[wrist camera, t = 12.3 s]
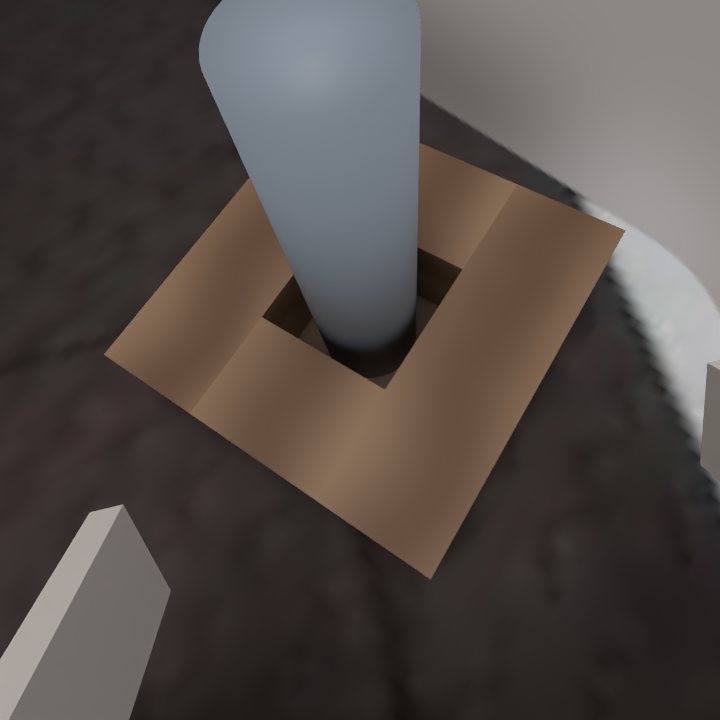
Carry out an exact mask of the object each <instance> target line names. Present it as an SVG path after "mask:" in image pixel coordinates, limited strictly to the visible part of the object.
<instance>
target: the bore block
mask: <svg viewBox="0 0 720 720" xmlns="http://www.w3.org/2000/svg"><path fill="white" fill-rule="evenodd" d="M624 232H625V230H623V229H621V228H618V227H616V226H614V225H611V224H609V223H607V222H604V221H602V220H599V219H597V218H595V217H592V216H590V215H588V214H585V213H583V212H581V211H578V210H576V209H574V208H571V207H569V206H567V205H564V204H562V203H560V202H557V201H555V200H553V199H550V198H548V197H545V196H543V195H541V194H538V193H536V192H534V191H531V190H529V189H527V188H524V187H522V186H520V185H517V184H515V183H513V182H510V181H508V180H506V179H503V178H501V177H499V176H496V175H494V174H491V173H489V172H487V171H484V170H482V169H480V168H477V167H475V166H473V165H470V164H468V163H466V162H463V161H461V160H459V159H456V158H454V157H452V156H449V155H447V154H445V153H442V152H440V151H437V150H435V149H433V148H430V147H428V146H426V145H423V144H421V143H419V179H418V237H417V296H416V339H415V344H414V345H413V347H412V349H411V350H410V352H409V353H408V355H407V356H406V358H405V359H404V361H403V362H402V364H401V366H400V367H399V368H398V369H397V370H395V371H393V372H392V373H390V374H387V375H385V376H381V377H376V378H364V377H362V376H361V375H359V374H357V373H356V372H354V371H352V370H351V369H349V368H347V367H346V366H344V365H342V364H340V363H339V362H337V361H335V360H334V359H332V358H331V356H330V354H329V352H328V350H327V347H326V345H325V343H324V341H323V338H322V336H321V334H320V332H319V330H318V327H317V325H316V323H315V321H314V319H313V316H312V314H311V312H310V310H309V307H308V305H307V303H306V301H305V299H304V296H303V294H302V292H301V290H300V288H299V285H298V283H297V281H296V279H295V276H294V274H293V272H292V270H291V268H290V265H289V263H288V261H287V259H286V257H285V254H284V252H283V250H282V248H281V245H280V243H279V241H278V239H277V237H276V234H275V232H274V230H273V228H272V226H271V223H270V221H269V219H268V217H267V214H266V212H265V210H264V208H263V206H262V203H261V201H260V199H259V197H258V194H257V192H256V190H255V188H254V186H253V183H252V181H251V179H250V178H249V179H248V180H247V181H246V183H245V184H244V185H243V186H242V187H241V189H240V190H239V191H238V192H237V194H236V195H235V196H234V197H233V198H232V200H231V201H230V202H229V203H228V204H227V206H226V207H225V208H224V209H223V211H222V212H221V213H220V214H219V215H218V217H217V218H216V219H215V220H214V222H213V223H212V224H211V225H210V226H209V228H208V229H207V230H206V231H205V232H204V234H203V235H202V236H201V237H200V239H199V240H198V241H197V242H196V243H195V245H194V246H193V247H192V248H191V249H190V251H189V252H188V253H187V254H186V256H185V257H184V258H183V259H182V260H181V262H180V263H179V264H178V265H177V266H176V268H175V269H174V270H173V271H172V273H171V274H170V275H169V276H168V277H167V279H166V280H165V281H164V282H163V284H162V285H161V286H160V287H159V288H158V290H157V291H156V292H155V293H154V294H153V296H152V297H151V298H150V299H149V301H148V302H147V303H146V304H145V305H144V307H143V308H142V309H141V310H140V311H139V313H138V314H137V315H136V316H135V318H134V319H133V320H132V321H131V322H130V324H129V325H128V326H127V327H126V328H125V330H124V331H123V332H122V333H121V335H120V336H119V337H118V338H117V339H116V341H115V342H114V343H113V344H112V345H111V347H110V348H109V349H108V350H107V352H106V353H105V354H104V355H106V356H107V357H108V358H110V359H111V360H113V361H114V362H116V363H117V364H119V365H120V366H122V367H123V368H124V369H126V370H127V371H129V372H130V373H132V374H133V375H135V376H136V377H137V378H139V379H140V380H142V381H143V382H145V383H146V384H148V385H149V386H151V387H152V388H153V389H155V390H156V391H158V392H159V393H161V394H162V395H164V396H165V397H167V398H168V399H169V400H171V401H172V402H174V403H175V404H177V405H178V406H180V407H181V408H182V409H184V410H185V411H187V412H188V413H190V414H191V415H193V416H194V417H196V418H197V419H198V420H200V421H201V422H203V423H204V424H206V425H207V426H209V427H210V428H212V429H213V430H214V431H216V432H217V433H219V434H220V435H222V436H223V437H225V438H226V439H227V440H229V441H230V442H232V443H233V444H235V445H236V446H238V447H239V448H241V449H242V450H243V451H245V452H246V453H248V454H249V455H251V456H252V457H254V458H255V459H256V460H258V461H259V462H261V463H262V464H264V465H265V466H267V467H268V468H270V469H271V470H272V471H274V472H275V473H277V474H278V475H280V476H281V477H283V478H284V479H286V480H287V481H288V482H290V483H291V484H293V485H294V486H296V487H297V488H299V489H300V490H301V491H303V492H304V493H306V494H307V495H309V496H310V497H312V498H313V499H315V500H316V501H317V502H319V503H320V504H322V505H323V506H325V507H326V508H328V509H329V510H331V511H332V512H333V513H335V514H336V515H338V516H339V517H341V518H342V519H344V520H345V521H346V522H348V523H349V524H351V525H352V526H354V527H355V528H357V529H358V530H360V531H361V532H362V533H364V534H365V535H367V536H368V537H370V538H371V539H373V540H374V541H375V542H377V543H378V544H380V545H381V546H383V547H384V548H386V549H387V550H389V551H390V552H391V553H393V554H394V555H396V556H397V557H399V558H400V559H402V560H403V561H405V562H406V563H407V564H409V565H410V566H412V567H413V568H415V569H416V570H418V571H419V572H420V573H422V574H423V575H425V576H426V577H428V578H429V579H431V578H432V576H433V574H434V572H435V570H436V569H437V567H438V565H439V563H440V562H441V560H442V558H443V556H444V554H445V553H446V551H447V549H448V547H449V545H450V544H451V542H452V540H453V538H454V536H455V535H456V533H457V531H458V529H459V528H460V526H461V524H462V522H463V520H464V519H465V517H466V515H467V513H468V511H469V510H470V508H471V506H472V504H473V502H474V501H475V499H476V497H477V495H478V493H479V492H480V490H481V488H482V486H483V485H484V483H485V481H486V479H487V477H488V476H489V474H490V472H491V470H492V468H493V467H494V465H495V463H496V461H497V459H498V458H499V456H500V454H501V452H502V451H503V449H504V447H505V445H506V443H507V442H508V440H509V438H510V436H511V434H512V433H513V431H514V429H515V427H516V425H517V424H518V422H519V420H520V418H521V416H522V415H523V413H524V411H525V409H526V408H527V406H528V404H529V402H530V400H531V399H532V397H533V395H534V393H535V391H536V390H537V388H538V386H539V384H540V382H541V381H542V379H543V377H544V375H545V374H546V372H547V370H548V368H549V366H550V365H551V363H552V361H553V359H554V357H555V356H556V354H557V352H558V350H559V348H560V347H561V345H562V343H563V341H564V339H565V338H566V336H567V334H568V332H569V331H570V329H571V327H572V325H573V323H574V322H575V320H576V318H577V316H578V314H579V313H580V311H581V309H582V307H583V305H584V304H585V302H586V300H587V298H588V297H589V295H590V293H591V291H592V289H593V288H594V286H595V284H596V282H597V280H598V279H599V277H600V275H601V273H602V271H603V270H604V268H605V266H606V264H607V262H608V261H609V259H610V257H611V255H612V254H613V252H614V250H615V248H616V246H617V245H618V243H619V241H620V239H621V237H622V236H623V234H624Z"/></svg>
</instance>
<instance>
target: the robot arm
mask: <svg viewBox="0 0 720 720" xmlns="http://www.w3.org/2000/svg"><path fill="white" fill-rule="evenodd" d="M700 465H701V466H702V467H704V468H705V469H706V470H707V471H708V472H709V473H711V474H712V475H713V476H714V477H715V478H717V479H718V480H719V481H720V360H718V361H714V362H710V363H708V364H707V378H706V392H705V405H704V419H703V433H702V447H701V460H700ZM170 592H171V590H170V588H169V587H168V585H167V583H166V581H165V579H164V578H163V576H162V574H161V572H160V570H159V568H158V567H157V565H156V563H155V561H154V559H153V558H152V556H151V554H150V552H149V550H148V549H147V547H146V545H145V543H144V541H143V540H142V538H141V536H140V534H139V532H138V531H137V529H136V527H135V525H134V523H133V522H132V520H131V518H130V516H129V514H128V512H127V511H126V509H125V507H124V505H119V506H115V507H111V508H106V509H102V510H98V511H94V512H90V513H89V515H88V516H87V518H86V520H85V521H84V523H83V525H82V526H81V528H80V529H79V531H78V533H77V534H76V536H75V538H74V539H73V541H72V543H71V544H70V546H69V547H68V549H67V551H66V552H65V554H64V556H63V557H62V559H61V561H60V562H59V564H58V566H57V567H56V569H55V570H54V572H53V574H52V575H51V577H50V579H49V580H48V582H47V584H46V585H45V587H44V589H43V590H42V592H41V593H40V595H39V597H38V598H37V600H36V602H35V603H34V605H33V607H32V608H31V610H30V611H29V613H28V615H27V616H26V618H25V620H24V621H23V623H22V625H21V626H20V628H19V630H18V631H17V633H16V634H15V636H14V638H13V639H12V641H11V643H10V644H9V646H8V648H7V649H6V651H5V653H4V654H3V656H2V657H1V659H0V720H129V718H130V715H131V712H132V709H133V706H134V703H135V700H136V697H137V694H138V690H139V687H140V684H141V681H142V678H143V675H144V672H145V669H146V666H147V663H148V660H149V656H150V653H151V650H152V647H153V644H154V641H155V638H156V635H157V632H158V629H159V626H160V622H161V619H162V616H163V613H164V610H165V607H166V604H167V601H168V598H169V595H170Z"/></svg>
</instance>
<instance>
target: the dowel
mask: <svg viewBox="0 0 720 720" xmlns="http://www.w3.org/2000/svg"><path fill="white" fill-rule="evenodd" d="M420 56H421V20H420V13H419V10H418V6H417V4H416V2H415V0H222V1H221V3H220V4H219V5H218V6H217V7H216V8H215V10H214V11H213V13H212V14H211V16H210V17H209V19H208V21H207V23H206V25H205V27H204V29H203V32H202V36H201V39H200V46H199V61H200V65H201V70H202V72H203V75H204V77H205V79H206V82H207V84H208V86H209V88H210V90H211V93H212V95H213V97H214V99H215V101H216V104H217V106H218V108H219V110H220V113H221V115H222V117H223V119H224V121H225V124H226V126H227V128H228V130H229V132H230V135H231V137H232V139H233V141H234V144H235V146H236V148H237V150H238V152H239V155H240V157H241V159H242V161H243V163H244V166H245V168H246V170H247V172H248V175H249V177H250V179H251V181H252V183H253V186H254V188H255V190H256V192H257V194H258V197H259V199H260V201H261V203H262V206H263V208H264V210H265V212H266V214H267V217H268V219H269V221H270V223H271V226H272V228H273V230H274V232H275V234H276V237H277V239H278V241H279V243H280V245H281V248H282V250H283V252H284V254H285V257H286V259H287V261H288V263H289V265H290V268H291V270H292V272H293V274H294V276H295V279H296V281H297V283H298V285H299V288H300V290H301V292H302V294H303V296H304V299H305V301H306V303H307V305H308V307H309V310H310V312H311V314H312V316H313V319H314V321H315V323H316V325H317V327H318V330H319V332H320V334H321V336H322V338H323V341H324V343H325V345H326V347H327V350H328V352H329V354H330V356H331V358H332V359H334V360H335V361H337V362H339V363H340V364H342V365H344V366H346V367H347V368H349V369H351V370H352V371H354V372H356V373H357V374H359V375H361V376H362V377H364V378H376V377H381V376H385V375H387V374H390V373H392V372H393V371H395V370H397V369H398V368H399V367H400V366H401V364H402V362H403V361H404V359H405V358H406V356H407V355H408V353H409V352H410V350H411V349H412V347H413V345H414V344H415V339H416V296H417V237H418V179H419V120H420V61H421V57H420Z"/></svg>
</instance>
